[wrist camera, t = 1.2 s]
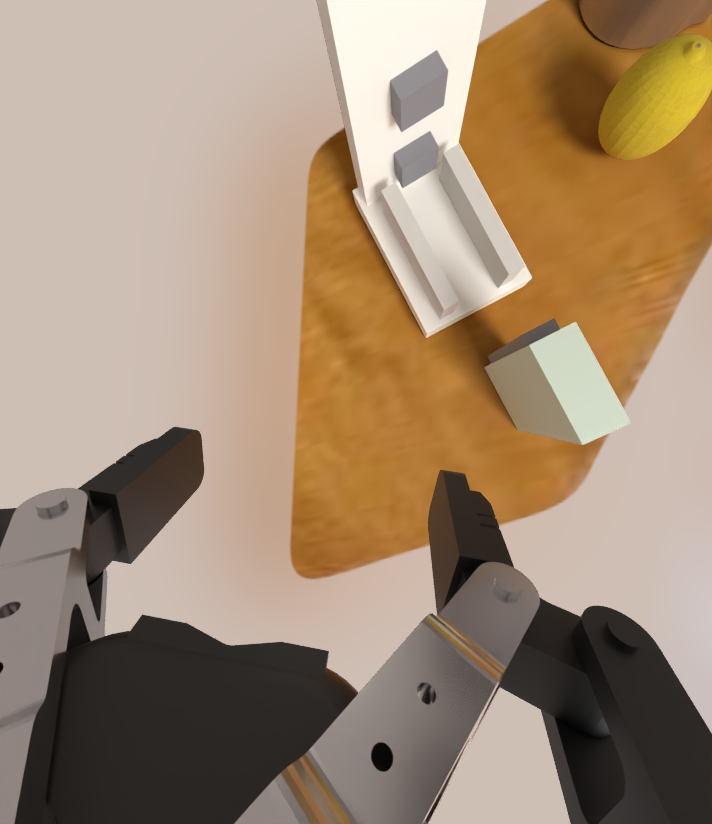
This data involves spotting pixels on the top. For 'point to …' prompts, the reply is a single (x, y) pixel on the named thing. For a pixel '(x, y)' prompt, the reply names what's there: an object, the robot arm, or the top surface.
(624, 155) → the lemon
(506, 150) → the top surface
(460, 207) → the white tall l-shaped piece
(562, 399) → the pale green slab
